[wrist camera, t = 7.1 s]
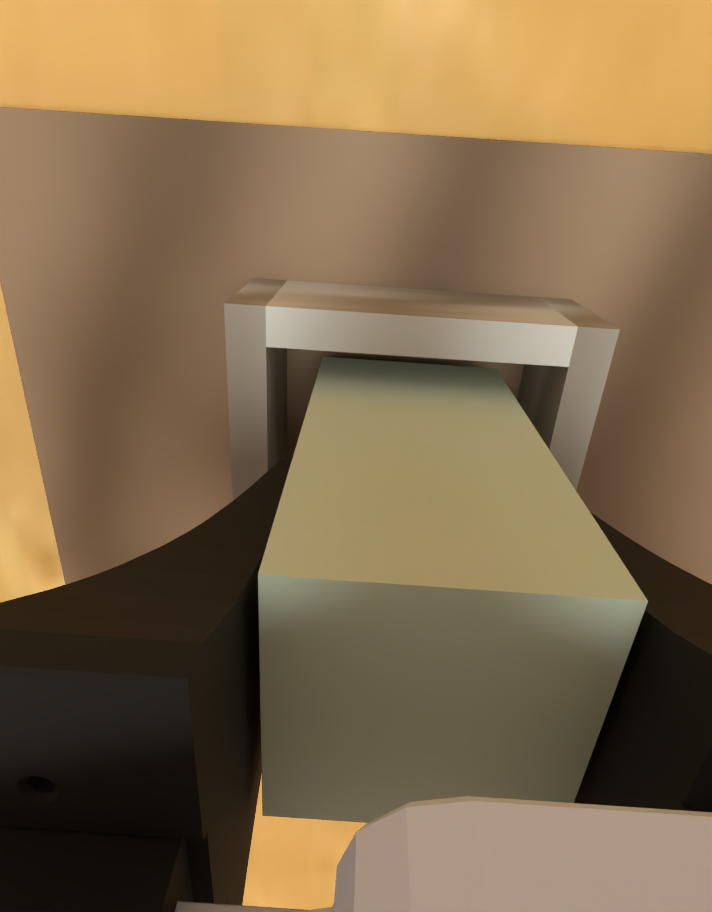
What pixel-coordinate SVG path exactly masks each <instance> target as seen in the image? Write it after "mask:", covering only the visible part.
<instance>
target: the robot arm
mask: <svg viewBox="0 0 712 912" xmlns="http://www.w3.org/2000/svg"><path fill="white" fill-rule="evenodd" d="M291 462H292V460H282V459H281V460H280V461H279V462H278V463H276V464H275V465H274V466H273V467H272V468H270V469H269V470H268V471H267V472H266V473H265V474H264V475H263V476H262V477H260V478H259V479H258V480H257V481H256V482H255V483H254V484H253V485H251V486H250V487H249V488H248V489H247V490H245V491H244V492H243V493H242V494H241V495H239V496H238V497H237V498H236V499H235V500H233V501H232V502H231V503H229V504H228V505H227V506H225V507H224V508H223V509H221V510H220V511H218V512H217V513H216V514H214V515H213V516H212V517H210V518H209V519H207V520H206V521H204V522H203V523H201V524H200V525H198V526H196V527H195V528H193V529H192V530H190V531H188V532H186V533H185V534H183V535H181V536H179V537H178V538H176V539H174V540H172V541H170V542H169V543H167V544H165V545H163V546H161V547H159V548H156V549H154V550H152V551H150V552H148V553H146V554H143V555H141V556H139V557H137V558H135V559H132V560H130V561H128V562H126V563H124V564H121V565H119V566H116V567H114V568H111V569H109V570H106V571H103V572H101V573H98V574H96V575H93V576H90V577H87V578H84V579H81V580H78V581H75V582H72V583H69V584H66V585H63V586H60V587H57V588H53V589H50V590H47V591H43V592H39V593H35V594H32V595H28V596H24V597H20V598H17V599H13V600H9V601H5V602H1V603H0V912H712V584H710V583H708V582H706V581H704V580H702V579H700V578H698V577H696V576H694V575H692V574H690V573H689V572H687V571H685V570H683V569H681V568H679V567H677V566H675V565H673V564H672V563H670V562H668V561H666V560H664V559H663V558H661V557H659V556H657V555H656V554H654V553H652V552H651V551H649V550H648V549H646V548H644V547H643V546H641V545H639V544H638V543H636V542H635V541H633V540H631V539H630V538H628V537H627V536H625V535H624V534H622V533H621V532H619V531H618V530H616V529H615V528H613V527H612V526H610V525H609V524H607V523H606V522H604V521H603V520H601V519H600V518H599V517H597V516H596V515H594V514H593V513H591V512H590V513H591V514H592V516H593V518H594V519H595V521H596V522H597V524H598V525H599V527H600V528H601V530H602V531H603V533H604V534H605V536H606V537H607V539H608V541H609V542H610V544H611V545H612V547H613V548H614V550H615V551H616V553H617V554H618V556H619V557H620V559H621V560H622V562H623V564H624V565H625V567H626V568H627V570H628V571H629V573H630V574H631V576H632V577H633V579H634V580H635V582H636V583H637V585H638V586H639V588H640V590H641V591H642V593H643V594H644V596H645V597H646V599H647V600H648V603H647V606H646V608H645V611H644V614H643V616H642V619H641V622H640V625H639V627H638V630H637V633H636V635H635V638H634V641H633V644H632V646H631V649H630V652H629V654H628V657H627V660H626V663H625V665H624V668H623V671H622V673H621V676H620V679H619V681H618V684H617V687H616V690H615V692H614V695H613V698H612V700H611V703H610V706H609V709H608V711H607V714H606V717H605V719H604V722H603V725H602V728H601V730H600V733H599V736H598V738H597V741H596V744H595V747H594V749H593V752H592V755H591V757H590V760H589V763H588V766H587V768H586V771H585V774H584V776H583V779H582V782H581V785H580V787H579V790H578V793H577V795H576V798H575V801H574V803H563V802H548V801H533V800H518V799H503V798H488V797H473V796H465V797H455V798H445V799H434V800H424V801H414V802H409V803H407V804H405V805H403V806H401V807H399V808H397V809H395V810H393V811H391V812H389V813H387V814H385V815H383V816H381V817H379V818H377V819H375V820H373V821H371V822H369V823H367V824H366V825H365V826H363V827H362V828H361V829H360V830H358V831H357V832H356V833H355V835H354V837H353V839H352V840H351V842H350V844H349V846H348V848H347V849H346V851H345V853H344V855H343V856H342V858H341V860H340V862H339V864H338V865H337V873H336V886H335V899H334V905H333V907H330V908H322V909H315V910H301V909H286V908H271V907H256V906H242V902H243V894H244V887H245V880H246V873H247V866H248V859H249V852H250V846H251V839H252V832H253V825H254V819H255V812H256V805H257V798H258V792H259V786H260V779H261V773H262V758H261V708H260V658H259V609H258V572H259V569H260V566H261V562H262V559H263V556H264V552H265V549H266V546H267V542H268V539H269V536H270V532H271V529H272V525H273V522H274V519H275V515H276V512H277V509H278V505H279V502H280V499H281V495H282V492H283V489H284V485H285V482H286V479H287V475H288V472H289V468H290V465H291Z"/></svg>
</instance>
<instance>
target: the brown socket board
mask: <svg viewBox="0 0 712 912" xmlns="http://www.w3.org/2000/svg"><path fill="white" fill-rule="evenodd" d="M0 283H1V287H2V292H3V297H4V301H5V306H6V311H7V315H8V320H9V325H10V329H11V334H12V338H13V343H14V348H15V352H16V357H17V362H18V366H19V371H20V376H21V380H22V385H23V389H24V394H25V399H26V403H27V408H28V413H29V417H30V422H31V426H32V431H33V436H34V440H35V445H36V450H37V454H38V459H39V464H40V468H41V473H42V477H43V482H44V487H45V491H46V496H47V501H48V505H49V510H50V515H51V519H52V524H53V528H54V533H55V538H56V542H57V547H58V552H59V556H60V561H61V565H62V570H63V575H64V579H65V584H69V583H72V582H75V581H78V580H81V579H84V578H87V577H90V576H93V575H96V574H98V573H101V572H103V571H106V570H109V569H111V568H114V567H116V566H119V565H121V564H124V563H126V562H128V561H130V560H132V559H135V558H137V557H139V556H141V555H143V554H146V553H148V552H150V551H152V550H154V549H156V548H159V547H161V546H163V545H165V544H167V543H169V542H170V541H172V540H174V539H176V538H178V537H179V536H181V535H183V534H185V533H186V532H188V531H190V530H192V529H193V528H195V527H196V526H198V525H200V524H201V523H203V522H204V521H206V520H207V519H209V518H210V517H212V516H213V515H214V514H216V513H217V512H218V511H220V510H221V509H223V508H224V507H225V506H227V505H228V504H229V503H231V502H232V501H233V500H235V499H236V498H237V497H238V496H239V495H241V494H242V493H243V492H244V491H245V490H247V489H248V488H249V487H250V486H251V485H253V484H254V483H255V482H256V481H257V480H258V479H259V478H260V477H262V476H263V475H264V474H265V473H266V472H267V471H268V470H269V469H270V468H272V467H273V466H274V465H275V464H276V463H278V462H279V461H280V460H281V459H282V460H292V458H293V455H294V452H295V448H296V445H297V442H298V438H299V435H300V432H301V428H302V425H303V422H304V418H305V415H306V411H307V408H308V405H309V401H310V398H311V395H312V391H313V388H314V385H315V381H316V378H317V375H318V371H319V368H320V365H321V361H322V358H323V357H335V358H349V359H364V360H379V361H394V362H408V363H423V364H438V365H453V366H468V367H482V368H496V369H497V371H498V372H499V374H500V375H501V377H502V378H503V380H504V381H505V383H506V384H507V386H508V387H509V389H510V390H511V392H512V393H513V395H514V397H515V398H516V400H517V401H518V403H519V404H520V406H521V407H522V409H523V410H524V412H525V413H526V415H527V416H528V418H529V420H530V421H531V423H532V424H533V426H534V427H535V429H536V430H537V432H538V433H539V435H540V436H541V438H542V439H543V441H544V443H545V444H546V446H547V447H548V449H549V450H550V452H551V453H552V455H553V456H554V458H555V459H556V461H557V462H558V464H559V465H560V467H561V469H562V470H563V472H564V473H565V475H566V476H567V478H568V479H569V481H570V482H571V484H572V485H573V487H574V488H575V490H576V492H577V493H578V495H579V496H580V498H581V499H582V501H583V502H584V504H585V505H586V507H587V508H588V510H589V511H590V512H591V513H593V514H594V515H596V516H597V517H599V518H600V519H601V520H603V521H604V522H606V523H607V524H609V525H610V526H612V527H613V528H615V529H616V530H618V531H619V532H621V533H622V534H624V535H625V536H627V537H628V538H630V539H631V540H633V541H635V542H636V543H638V544H639V545H641V546H643V547H644V548H646V549H648V550H649V551H651V552H652V553H654V554H656V555H657V556H659V557H661V558H663V559H664V560H666V561H668V562H670V563H672V564H673V565H675V566H677V567H679V568H681V569H683V570H685V571H687V572H689V573H690V574H692V575H694V576H696V577H698V578H700V579H702V580H704V581H706V582H708V583H710V584H712V154H703V153H688V152H673V151H658V150H642V149H627V148H612V147H597V146H582V145H567V144H552V143H536V142H521V141H506V140H491V139H476V138H461V137H445V136H430V135H415V134H400V133H385V132H370V131H355V130H339V129H324V128H309V127H294V126H279V125H264V124H249V123H233V122H218V121H203V120H188V119H173V118H158V117H143V116H127V115H112V114H97V113H82V112H67V111H52V110H37V109H21V108H6V107H0Z"/></svg>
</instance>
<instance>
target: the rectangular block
mask: <svg viewBox="0 0 712 912" xmlns="http://www.w3.org/2000/svg"><path fill="white" fill-rule="evenodd" d="M647 603H648V600H647V599H646V597H645V596H644V594H643V593H642V591H641V590H640V588H639V586H638V585H637V583H636V582H635V580H634V579H633V577H632V576H631V574H630V573H629V571H628V570H627V568H626V567H625V565H624V564H623V562H622V560H621V559H620V557H619V556H618V554H617V553H616V551H615V550H614V548H613V547H612V545H611V544H610V542H609V541H608V539H607V537H606V536H605V534H604V533H603V531H602V530H601V528H600V527H599V525H598V524H597V522H596V521H595V519H594V518H593V516H592V514H591V513H590V511H589V510H588V508H587V507H586V505H585V504H584V502H583V501H582V499H581V498H580V496H579V495H578V493H577V492H576V490H575V488H574V487H573V485H572V484H571V482H570V481H569V479H568V478H567V476H566V475H565V473H564V472H563V470H562V469H561V467H560V465H559V464H558V462H557V461H556V459H555V458H554V456H553V455H552V453H551V452H550V450H549V449H548V447H547V446H546V444H545V443H544V441H543V439H542V438H541V436H540V435H539V433H538V432H537V430H536V429H535V427H534V426H533V424H532V423H531V421H530V420H529V418H528V416H527V415H526V413H525V412H524V410H523V409H522V407H521V406H520V404H519V403H518V401H517V400H516V398H515V397H514V395H513V393H512V392H511V390H510V389H509V387H508V386H507V384H506V383H505V381H504V380H503V378H502V377H501V375H500V374H499V372H498V371H497V369H496V368H482V367H468V366H453V365H438V364H423V363H408V362H394V361H379V360H364V359H349V358H335V357H323V358H322V361H321V365H320V368H319V371H318V375H317V378H316V381H315V385H314V388H313V391H312V395H311V398H310V401H309V405H308V408H307V411H306V415H305V418H304V422H303V425H302V428H301V432H300V435H299V438H298V442H297V445H296V448H295V452H294V455H293V458H292V462H291V465H290V468H289V472H288V475H287V479H286V482H285V485H284V489H283V492H282V495H281V499H280V502H279V505H278V509H277V512H276V515H275V519H274V522H273V525H272V529H271V532H270V536H269V539H268V542H267V546H266V549H265V552H264V556H263V559H262V562H261V566H260V569H259V572H258V609H259V658H260V708H261V758H262V808H263V816H277V817H292V818H306V819H321V820H336V821H351V822H365V823H369V822H371V821H373V820H375V819H377V818H379V817H381V816H383V815H385V814H387V813H389V812H391V811H393V810H395V809H397V808H399V807H401V806H403V805H405V804H407V803H409V802H414V801H424V800H434V799H445V798H455V797H465V796H473V797H488V798H503V799H518V800H533V801H548V802H563V803H574V801H575V798H576V795H577V793H578V790H579V787H580V785H581V782H582V779H583V776H584V774H585V771H586V768H587V766H588V763H589V760H590V757H591V755H592V752H593V749H594V747H595V744H596V741H597V738H598V736H599V733H600V730H601V728H602V725H603V722H604V719H605V717H606V714H607V711H608V709H609V706H610V703H611V700H612V698H613V695H614V692H615V690H616V687H617V684H618V681H619V679H620V676H621V673H622V671H623V668H624V665H625V663H626V660H627V657H628V654H629V652H630V649H631V646H632V644H633V641H634V638H635V635H636V633H637V630H638V627H639V625H640V622H641V619H642V616H643V614H644V611H645V608H646V606H647Z"/></svg>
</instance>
